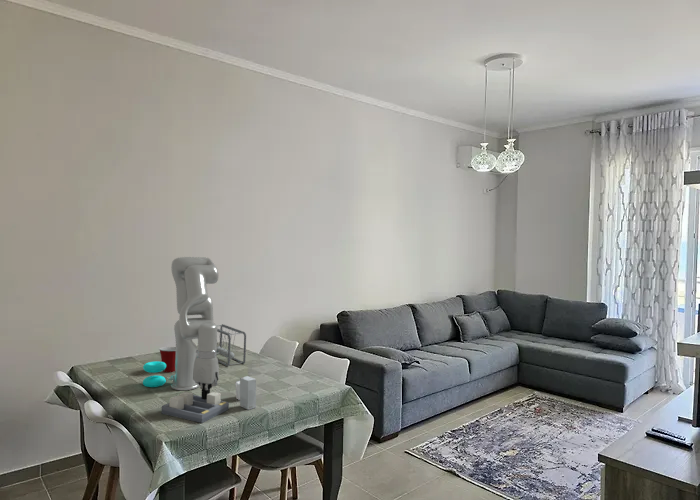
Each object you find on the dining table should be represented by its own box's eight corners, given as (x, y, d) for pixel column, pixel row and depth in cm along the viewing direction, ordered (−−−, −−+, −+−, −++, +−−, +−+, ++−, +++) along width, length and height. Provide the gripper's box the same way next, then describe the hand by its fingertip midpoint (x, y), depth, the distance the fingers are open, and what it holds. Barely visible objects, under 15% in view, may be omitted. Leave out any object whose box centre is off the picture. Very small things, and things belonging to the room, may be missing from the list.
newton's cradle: (204, 355, 276) (205, 325, 275) (221, 353, 283) (221, 323, 282) (228, 367, 253) (229, 334, 253) (245, 364, 260) (246, 332, 260)
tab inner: (206, 405, 191) (207, 394, 191) (212, 402, 195) (212, 391, 194) (214, 407, 190) (215, 396, 190) (220, 404, 193) (220, 393, 193)
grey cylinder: (244, 394, 212) (244, 378, 211) (254, 398, 207) (254, 382, 207) (231, 398, 206) (232, 382, 206) (241, 401, 202) (242, 385, 202)
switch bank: (161, 413, 186) (161, 405, 186) (189, 401, 200) (190, 393, 200) (202, 423, 178) (202, 414, 178) (228, 409, 193) (228, 401, 193)
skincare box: (256, 407, 196) (257, 378, 196) (247, 410, 193) (248, 380, 192) (247, 403, 200) (248, 375, 200) (238, 406, 197) (239, 377, 196)
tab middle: (178, 405, 190) (179, 394, 190) (185, 402, 194) (185, 391, 193) (186, 407, 189) (187, 395, 189) (192, 404, 192) (193, 393, 192)
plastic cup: (184, 368, 247) (185, 346, 247) (174, 374, 236) (175, 350, 236) (164, 367, 248) (165, 344, 248) (153, 373, 237) (154, 349, 237)
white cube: (169, 409, 185) (169, 398, 185) (176, 406, 189) (176, 395, 189) (177, 411, 184) (177, 399, 184) (183, 408, 187) (184, 397, 187)
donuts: (138, 364, 216) (153, 359, 226) (137, 386, 216) (152, 380, 226) (156, 367, 214) (170, 361, 223) (156, 389, 214) (170, 382, 223)
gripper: (186, 353, 193) (184, 398, 193) (215, 358, 187) (214, 404, 187) (198, 350, 200) (197, 393, 200) (227, 354, 194) (226, 398, 194)
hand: (205, 398), depth 194 cm, fingers closed
